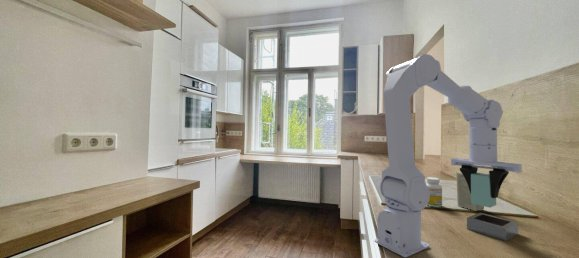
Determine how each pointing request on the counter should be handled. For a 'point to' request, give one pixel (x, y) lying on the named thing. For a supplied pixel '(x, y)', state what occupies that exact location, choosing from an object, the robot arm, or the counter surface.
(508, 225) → the socket
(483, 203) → the peg
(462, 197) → the skincare box
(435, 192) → the supplement bottle
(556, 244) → the counter surface
